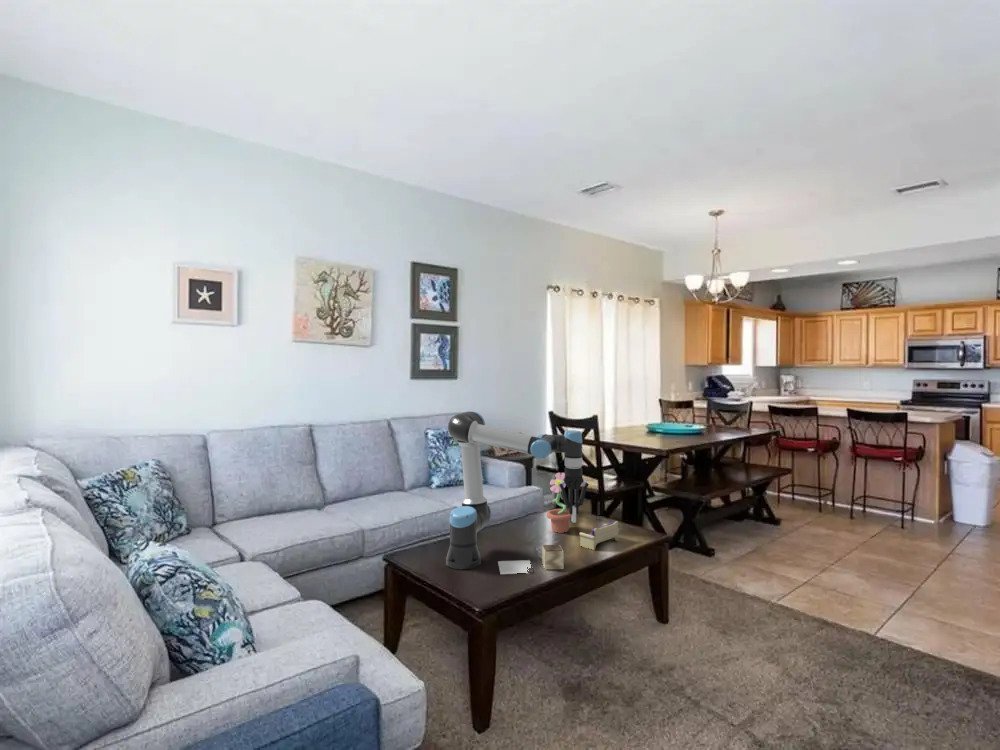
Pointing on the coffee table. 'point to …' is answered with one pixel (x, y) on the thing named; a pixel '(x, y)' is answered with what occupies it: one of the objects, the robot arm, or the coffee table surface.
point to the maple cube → (552, 557)
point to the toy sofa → (600, 535)
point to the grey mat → (514, 566)
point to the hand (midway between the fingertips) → (573, 521)
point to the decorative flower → (559, 515)
